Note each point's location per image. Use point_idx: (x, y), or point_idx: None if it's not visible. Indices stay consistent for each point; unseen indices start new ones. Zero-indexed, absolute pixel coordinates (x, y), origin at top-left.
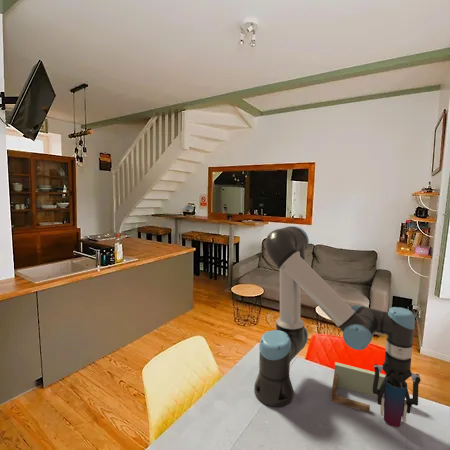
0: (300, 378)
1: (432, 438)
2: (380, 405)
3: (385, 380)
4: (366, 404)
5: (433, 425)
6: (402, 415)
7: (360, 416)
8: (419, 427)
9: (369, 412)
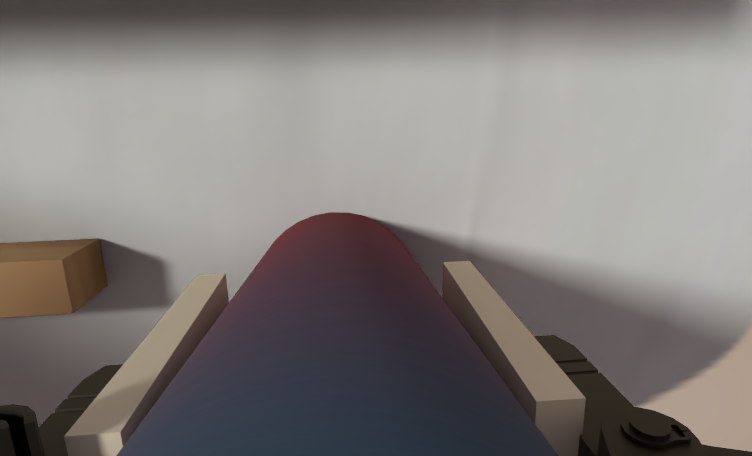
0: None
1: (665, 327)
2: (175, 306)
3: None
4: (18, 269)
5: (734, 137)
6: (450, 299)
7: (30, 382)
8: (588, 240)
9: (103, 288)
